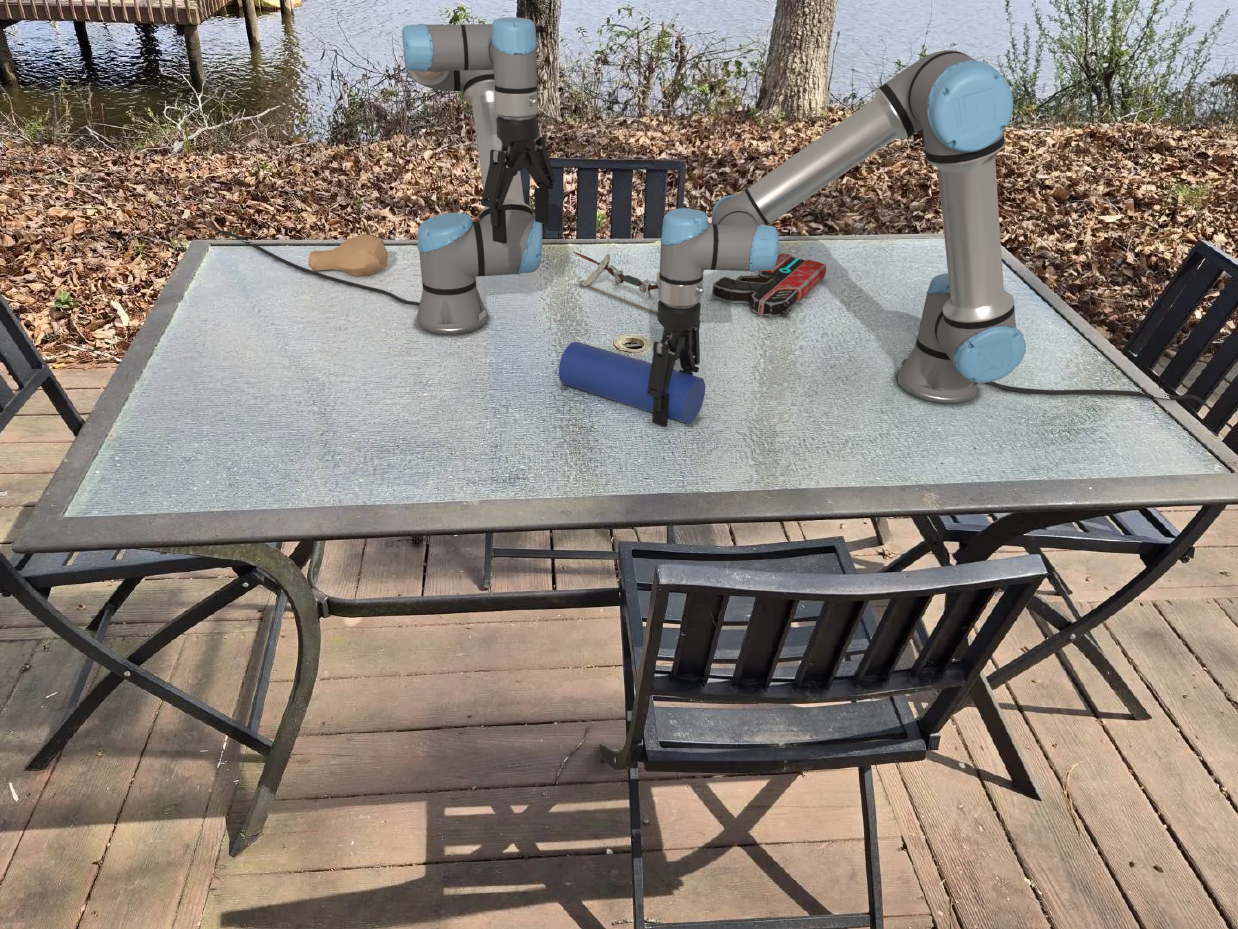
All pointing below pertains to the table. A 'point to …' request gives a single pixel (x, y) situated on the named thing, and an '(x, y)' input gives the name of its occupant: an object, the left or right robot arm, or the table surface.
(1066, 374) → the table surface
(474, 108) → the left robot arm
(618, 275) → the bow
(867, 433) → the table surface
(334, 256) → the squash
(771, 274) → the gun
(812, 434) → the table surface
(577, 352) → the rod
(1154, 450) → the table surface
